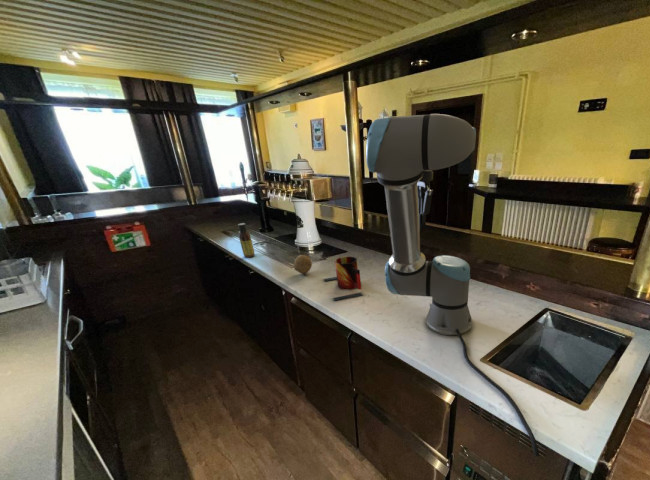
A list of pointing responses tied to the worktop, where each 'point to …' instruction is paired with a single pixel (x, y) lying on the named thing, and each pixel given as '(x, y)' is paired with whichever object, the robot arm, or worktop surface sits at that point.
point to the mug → (347, 273)
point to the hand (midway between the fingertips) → (421, 230)
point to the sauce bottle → (245, 241)
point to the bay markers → (343, 296)
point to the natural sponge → (302, 264)
